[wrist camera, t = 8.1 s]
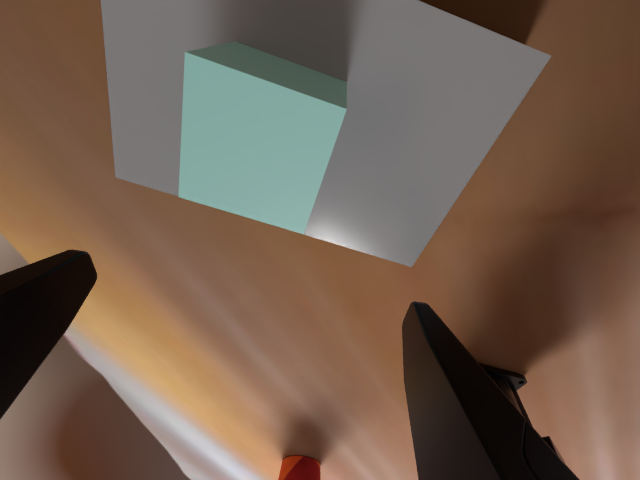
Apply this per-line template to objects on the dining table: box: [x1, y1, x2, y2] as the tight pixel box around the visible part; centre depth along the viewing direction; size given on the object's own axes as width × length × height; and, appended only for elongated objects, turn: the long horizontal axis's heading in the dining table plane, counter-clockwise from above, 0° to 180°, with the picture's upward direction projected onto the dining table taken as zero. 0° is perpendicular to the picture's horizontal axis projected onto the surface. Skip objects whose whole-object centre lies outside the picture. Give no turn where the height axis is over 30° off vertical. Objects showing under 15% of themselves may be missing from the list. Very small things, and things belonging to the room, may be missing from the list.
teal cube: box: [178, 42, 347, 234], centre depth 13 cm, size 5×5×5 cm
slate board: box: [101, 0, 551, 267], centre depth 16 cm, size 18×12×2 cm, turn 73°
